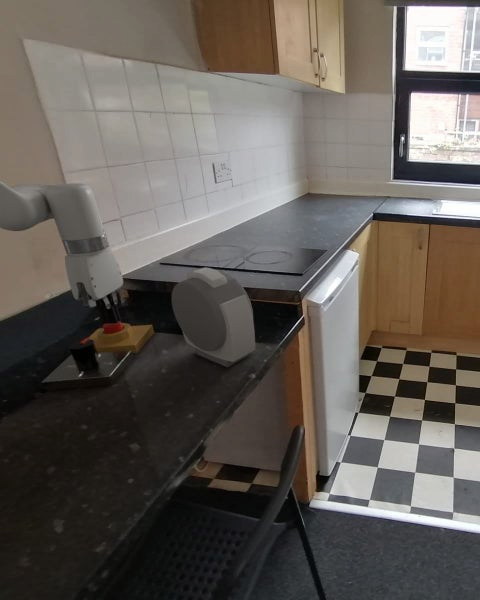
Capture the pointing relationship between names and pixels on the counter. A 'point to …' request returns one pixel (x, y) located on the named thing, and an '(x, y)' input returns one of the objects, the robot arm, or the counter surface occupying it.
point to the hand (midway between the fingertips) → (112, 321)
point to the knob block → (122, 338)
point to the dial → (85, 354)
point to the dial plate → (88, 372)
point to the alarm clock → (215, 315)
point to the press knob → (113, 328)
